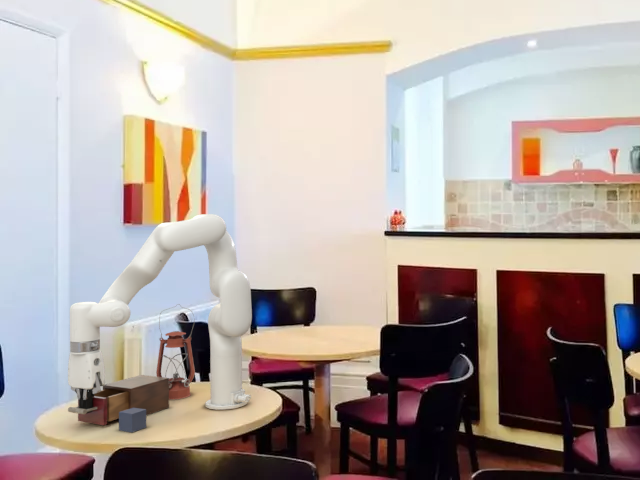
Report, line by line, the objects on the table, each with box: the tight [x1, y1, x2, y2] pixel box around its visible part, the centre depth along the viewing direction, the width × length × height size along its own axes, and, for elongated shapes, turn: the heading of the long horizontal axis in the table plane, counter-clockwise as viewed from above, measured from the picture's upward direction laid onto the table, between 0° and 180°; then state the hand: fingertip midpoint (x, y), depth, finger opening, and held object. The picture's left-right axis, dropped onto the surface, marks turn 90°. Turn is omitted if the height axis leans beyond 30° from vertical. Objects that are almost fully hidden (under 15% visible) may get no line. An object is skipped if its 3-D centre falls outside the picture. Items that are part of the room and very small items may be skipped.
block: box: [118, 408, 147, 433], centre depth 189 cm, size 5×5×5 cm
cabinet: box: [102, 374, 170, 416], centre depth 207 cm, size 15×12×9 cm
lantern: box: [155, 303, 196, 401], centre depth 226 cm, size 10×10×30 cm
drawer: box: [67, 388, 129, 426], centre depth 196 cm, size 18×10×7 cm, turn 154°
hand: (86, 412), depth 191 cm, fingers closed
